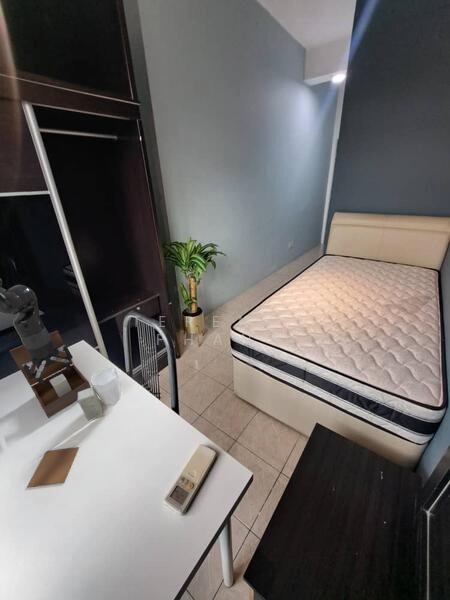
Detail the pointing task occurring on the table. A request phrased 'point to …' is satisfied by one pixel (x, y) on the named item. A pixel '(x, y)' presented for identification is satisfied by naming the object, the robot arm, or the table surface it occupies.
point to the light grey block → (60, 385)
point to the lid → (24, 357)
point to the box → (90, 403)
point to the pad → (53, 467)
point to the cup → (107, 385)
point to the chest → (50, 398)
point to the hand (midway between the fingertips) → (56, 376)
